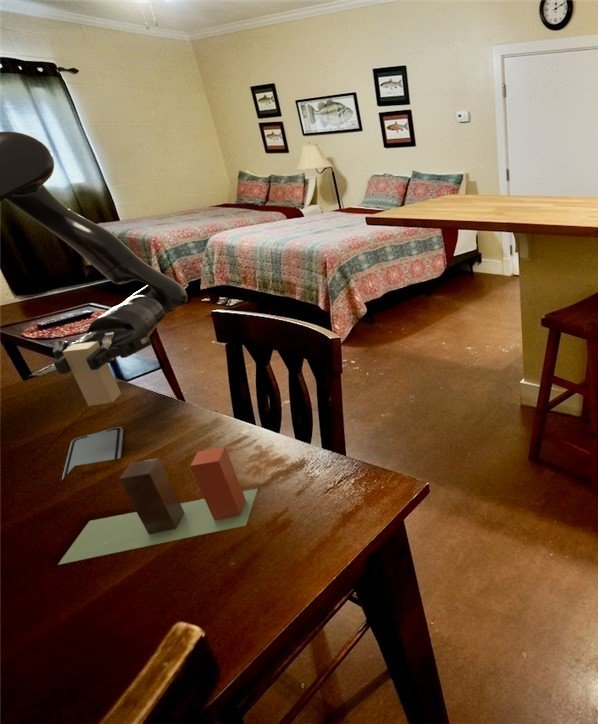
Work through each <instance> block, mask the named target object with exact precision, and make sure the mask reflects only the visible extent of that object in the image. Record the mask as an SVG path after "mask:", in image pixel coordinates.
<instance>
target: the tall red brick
mask: <svg viewBox="0 0 598 724" xmlns="http://www.w3.org/2000/svg"><path fill="white" fill-rule="evenodd" d="M189 467H190V469H191V471H192V473H193V476H194V478H195V480H196V482H197V485H198V487H199V489H200V491H201V494H202V497H203V499H205V501H206V503H207V505H208V508H209V510H210V512H211V515H212V517H213V519H214V520H219V519H224V518H229V517H234V516H238V515H240V514H241V511H242V509H243V506H244V503H245V500H246V499H245V497H244V494H243V489H242V487H241V483H240V481H239V478H238V476H237V474H236V471H235V469H234V468H235V467H234V466H233V463H232V460H231V457H230V456H229V453H228V450H227V448H226V446H221V447H220V446H219V447H215V448H209V449H204V450H203V449H202V450H198V451H197V452H196V454H195V456H194V458H193V460H192V461H191V464H190V465H189Z"/></svg>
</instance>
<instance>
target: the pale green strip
mask: <svg viewBox="0 0 598 724" xmlns="http://www.w3.org/2000/svg"><path fill="white" fill-rule="evenodd" d="M258 490H259V488H254V489H253V488H252V489H248V490H244V491H243V490H242V491H243V494H244V497H245V499H246V500H245V503H244V506H243V509H242V511H241V514H240V515H238V516H234V517H229V518H224V519H219V520H214V519H213V517H212V515H211V512H210V510H209V508H208V505H207V503H206V501H205V499H204V498H202V499H196V500H191V501H187V502H180V504H181V506H182V508H183V510H184V514H183V516H182V518H181V520H180V522H179V524H178V526H177V528H176V529H172V530H167V531H162V532H157V533H152V534H148V533H147V531H146V529H145V527H144V525H143V523H142V521H141V519H140V518H139V516H138V514H137V512H136V511H133V512H129V513H124V514H119V515H113V516H108V517H102V518H98V519H93V520H89V521H88V523H86V525H85V526H84V527H83V529H82V531H81V532H80V533H79V535H78V536H77V538H75V540H74V541H73V542H72V544H71V545H70V547H69V548H68V549H67V551H66V553H65V554H64V555H63V556H62V558H61V559H60V561H59V562H58V564H57V565H58V566H60V565H63V564H69V563H73V562H80V561H83V560H89V559H93V558H98V557H102V556H107V555H111V554H116V553H121V552H126V551H130V550H136V549H140V548H145V547H150V546H155V545H159V544H164V543H169V542H174V541H179V540H184V539H188V538H192V537H198V536H203V535H206V534H207V535H208V534H211V533H217V532H221V531H226V530H231V529H237V528H241V527H246V526H247V524H248V522H249V517H250V514H251V512H252V509H253V505H254V502H255V499H256V496H257V494H258Z"/></svg>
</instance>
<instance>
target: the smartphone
mask: <svg viewBox="0 0 598 724" xmlns="http://www.w3.org/2000/svg"><path fill="white" fill-rule="evenodd" d="M123 439H124V429H123V427H121V426H116V427H113V428H108V429H105V430H101V431H98V432H94V433H90V434H86V435H83V436H79V437H77V438H74V439H72V440H71V441H70V445H69V450H68V453H67V457H66V461H65V464H64V469H63V473H62V476H61V482H62V480H64V478H65V477H67V475H68V474H69V473H70V472H71V471H72V470H73V469H74V468H75V466H82V465H88V464H94V463H101V462H107V461H112V460H119V459H121V458H122V451H123Z"/></svg>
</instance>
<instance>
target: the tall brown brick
mask: <svg viewBox="0 0 598 724" xmlns="http://www.w3.org/2000/svg"><path fill="white" fill-rule="evenodd" d="M165 470H166V469H165V468H164V466H163V464H162V462H161V460H160V458H159V457H158V458H153V459H147V460H141V461H135V462H130V463H129V464H128V466H127V467H126V468H125V469H124V471H123V472H122V474H121V475H120V477H119V478H118V480H119V482H120V484H121V486H122V487H123V490H124V491H125V493H126V495H127V497H128V499H129V501H130V502H131V504H132V506H133V508H134V510H135V512H137V514H138V516H139V518H140V519H141V521H142V523H143V525H144V527H145V529H146V531H147V533H148V534H152V533H157V532H162V531H167V530H172V529H176V528H177V526H178V524H179V522H180V520H181V518H182V516H183V514H184V510H183V508H182V506H181V502H180V499H179V497H178V495H177V493H176V491H175V489H174V487H173V484H172V483H171V481H170V478H169V477H168V474H167V472H166V471H165Z"/></svg>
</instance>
